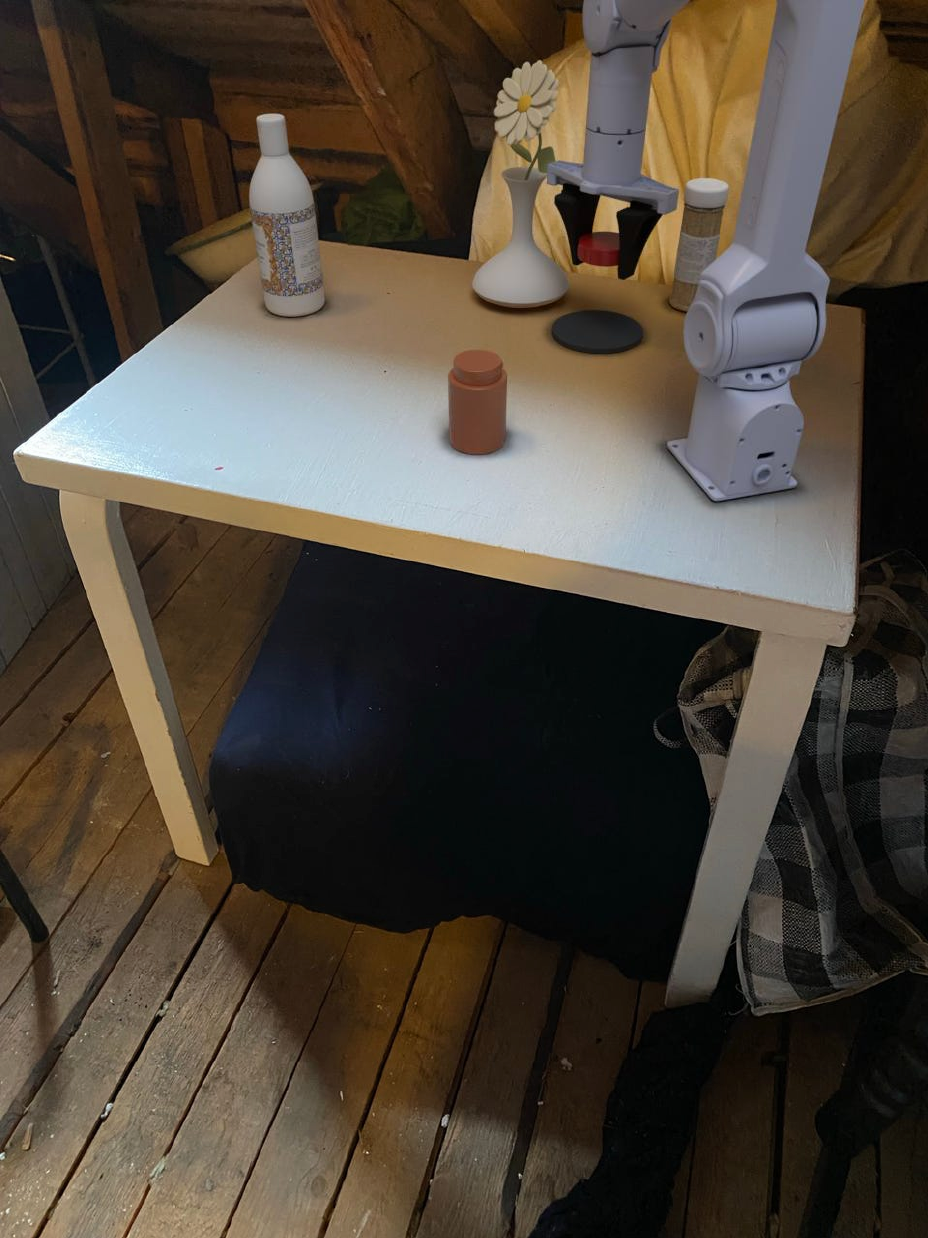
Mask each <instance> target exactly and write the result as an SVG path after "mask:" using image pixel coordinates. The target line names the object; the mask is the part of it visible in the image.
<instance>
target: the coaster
mask: <svg viewBox="0 0 928 1238" xmlns="http://www.w3.org/2000/svg"><path fill="white" fill-rule="evenodd" d="M551 335H552V338H553V339H554V340H555V342H556V343H558V344H559V345H560V346H563V347H565V348H567V349H570V350H572V351H576V352H581V353H586V354H595V355H597V354H598V355H607V354H617V353H621V352H625V351H628V350H631V349H633V348H635V347H636V346H638V345H639V344H640V343H641V341H642V339H643V337H644V328H643V327H642V325H641V324H640V322H639V321H638V320H636V319H635V318H633V317H631V316H629V315H625V314H623V313H620V312H617V311H616V312H615V311H611V310H603V309H585V310H577V311H572V312H569V313H566V314H563V315H561V316H559V317H558V318H556V319H555V320H554V321H553V323H552V324H551Z"/></svg>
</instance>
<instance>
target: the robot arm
mask: <svg viewBox="0 0 928 1238" xmlns="http://www.w3.org/2000/svg"><path fill="white" fill-rule="evenodd" d="M690 1H691V0H583V3H582V12H581V13H582V15H581V17H582V24H581V25H582V32H583V38H584V42H585V44H586V45H585V46H586V47H587V49H588V50H589V52H591V53H590V63H589V76H588V77H589V79H588V89H587V91H588V92H587V105H586V119H585V133H584V134H585V135H584V147H583V161H582V163H578V162H573V161H572V162H571V161H564V160H561V159H559V160H556V162H553V163H550V164H548V167H547V177H546V185H550V186H558V185H559V186H562V189H561V190H560V193H557V194H555V196H554V199H553V200H554V201H553V204H554V207H556V209H557V211H558V213H559V215H560V217H561V220H562V223H563V225H564V228H565V233H566V236H567V240H568V246H569V250H570V257H571V264H572V265H573V266H576V267H577V266H580V265H582V264H585V263H584V262H582V261H581V260H580V259H579V258H578V256H577V251H578V245H579V239H580V237H581V236H583V235H585V234H588V233H592V232H594V224H595V218H596V214H597V210H598V206H599V202H600V199H601V197H605V198H610V199H612V200H613V199H614V200H617V201H621V202H624V203H628V204H629V206H626V207H624V208H622V209H619V210H617V211H616V214H615V217H616V222H617V228H618V233H619V258H618V266H617V268H616V269H617V270H616V271H617V279H618V280H621V281H625V280H627V279H629V278H631V277H633V276H634V275H635V273H636V270H637V267H638V263H639V261H640V258H641V255H642V254H643V251H644V248H645V246H646V243H647V242H648V240H649V238H650V236H651V234H652V233H653V231H654V230H655V227H656V226H657V224H658V223H659V222H660V219H662V217H663V216H666V215H668V214H670V213H673V212H674V211H677V210H678V209H677V208H678V201H679V194H680V189H679V188H678V187H677V188H676V187H673V186H669V185H667V184H664V183H662V182H660V181H658V180H655V179H653V178H651V177H649V176H646V175H644V174H642V166H643V156H644V149H645V141H646V131H647V122H648V121H647V120H648V114H649V106H650V97H651V96H650V95H651V88H652V78H653V74H654V73H655V72H657V71H658V67H659V66H660V62H661V55H662V49H663V47H664V45H665V43H666V42H667V38H668V37H669V33H670V29H671V24H672V18H673V17H674V16H675V15H677V14H678V13H679V12H680V11H681V10H682V9H683V8H684V7H685V6H686V5H687V4H688V3H689V2H690ZM865 3H866V0H776V8H775V14H774V17H773V18H774V20H773V25H772V28H771V29H772V31H771V35H770V41H769V46H768V51H767V57H766V61H765V67H764V71H763V72H764V73H763V77H762V82H761V83H762V84H761V89H760V94H759V98H758V105H757V110H756V115H755V121H754V126H753V132H752V137H751V142H750V147H749V152H748V158H747V163H746V168H745V169H746V170H745V175H744V179H743V185H742V189H741V194H740V195H741V196H740V201H739V205H738V212H737V216H736V217H737V218H736V222H735V228H734V233H733V238H732V243H731V244H730V246H729V247H728V248H726V250H724V251H723V252H722V253H721V254H720V255H719V256H718V257H716V260H715V261H713V262H712V263H711V264H710V265H709V266H708V267H707V268H706V269H705V270H704V271H703V272H702V273H701V274H700V277H699V283H698V288H697V292H696V295H695V298H694V300H693V302H692V304H691V305H690V307H689V310H688V312H687V311H686V314H685V318H684V321H683V326H682V327H683V328H682V329H683V330H682V338H683V339H682V340H683V346H684V350H685V351H684V352H685V355H686V357H687V359H688V361H689V363H690V364H691V366H692V367H693V369H694V370H695V371H696V372H697V374H698V378H697V383H696V389H695V395H694V401H693V406H692V412H691V417H690V423H689V428H688V434H687V437H686V438H685V437H684V438H679V439H673V440H668V441H667V444H666V448H667V449H668V450H669V451H670V452H671V453H672V455H673V456H674V457H675V458H676V460H677V461H678V462H679V463H680V464H681V466H682V467H683V468H684V469H685V470H686V471H687V473H688V474H689V475H690V476H691V477H692V478H693V480H694V481H695V482H696V483H697V484H698V485H699V486H700V488H701V489H702V490H703V491H704V492H705V494H706V495H707V496H708V497H709V498H710V499H711V500H712V501H713V502H722V501H727V500H731V499H732V500H733V499H737V498H744V497H749V496H750V497H751V496H757V495H762V494H767V493H773V492H778V491H783V490H789V489H794V488H797V486H798V480H797V479H795V477H794V476H792V472H793V469H794V465H795V461H796V457H797V454H798V450H799V447H800V443H801V439H802V436H803V432H804V428H805V420H804V415H803V413H802V411H801V409H800V408H799V406H798V405H797V404H796V402H795V399H794V397H793V396H792V391H791V385H790V381H791V378H792V377H793V376H797V375H799V374H800V369H801V366H802V362H805V361H807V360H810V359H811V358H813V357H814V356H815V355H816V354H817V352H818V351H819V350H820V347H821V345H822V342H823V341H824V337H825V333H826V328H827V311H826V310H827V309H826V302H827V301H826V300H827V295H828V290H829V286H830V283H831V279H830V278H829V276H828V274H827V273H826V272H825V270H824V268H823V267H822V266H821V265H820V264H819V263H818V262H817V261H816V260H815V259H814V258H812V257H811V255H810V254H808V252H806V249H807V244H808V240H809V237H810V232H811V228H812V224H813V220H814V216H815V211H816V207H817V203H818V200H819V195H820V190H821V186H822V183H823V178H824V175H825V169H826V165H827V161H828V158H829V153H830V149H831V145H832V141H833V137H834V132H835V128H836V124H837V120H838V114H839V112H840V108H841V103H842V98H843V94H844V90H845V87H846V82H847V78H848V74H849V70H850V66H851V61H852V58H853V52H854V49H855V44H856V40H857V36H858V32H859V27H860V23H861V20H862V15H863V12H864V7H865Z"/></svg>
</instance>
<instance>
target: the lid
mask: <svg viewBox="0 0 928 1238" xmlns="http://www.w3.org/2000/svg"><path fill="white" fill-rule="evenodd" d="M577 256H578V258H579V259H580V260H581V261H582V262H584V263H583V264H586V265H590V266H595V267H609V268H610V267H618V258H619V232H615V231H593V232H592V233H588V234H585V235H583V236H581V237H580V239H579V245H578V251H577Z"/></svg>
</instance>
